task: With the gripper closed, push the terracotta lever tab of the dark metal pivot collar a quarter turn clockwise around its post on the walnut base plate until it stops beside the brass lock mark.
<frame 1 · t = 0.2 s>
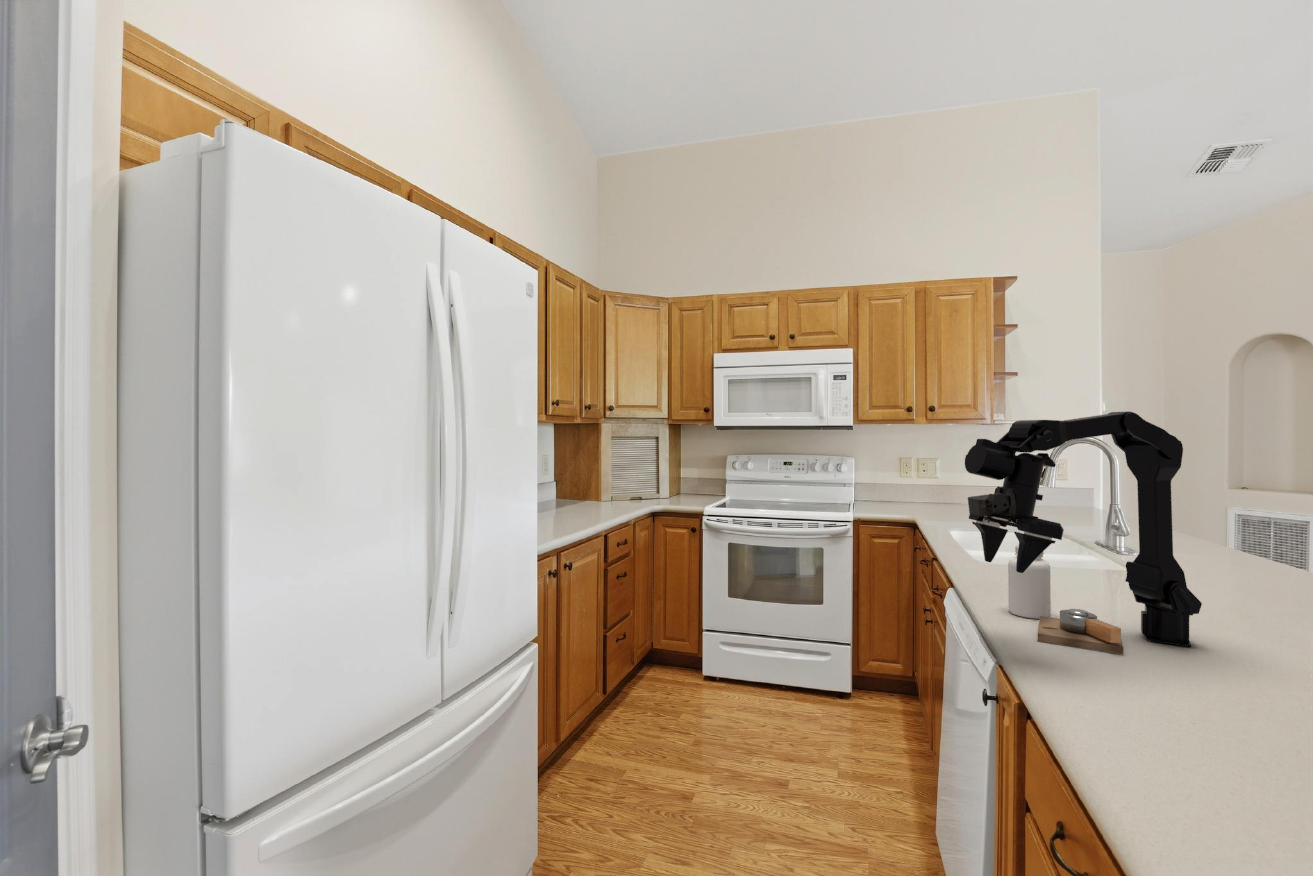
hand: (1003, 566, 110), 15 cm above the countertop, tool pointing down, fingers open, 9 cm apart
base plate: (1078, 637, 116), on the countertop
pill bottle: (1029, 615, 131), on the countertop
coupling: (1089, 624, 113), point 4 cm above the countertop, hinge at 130.0°
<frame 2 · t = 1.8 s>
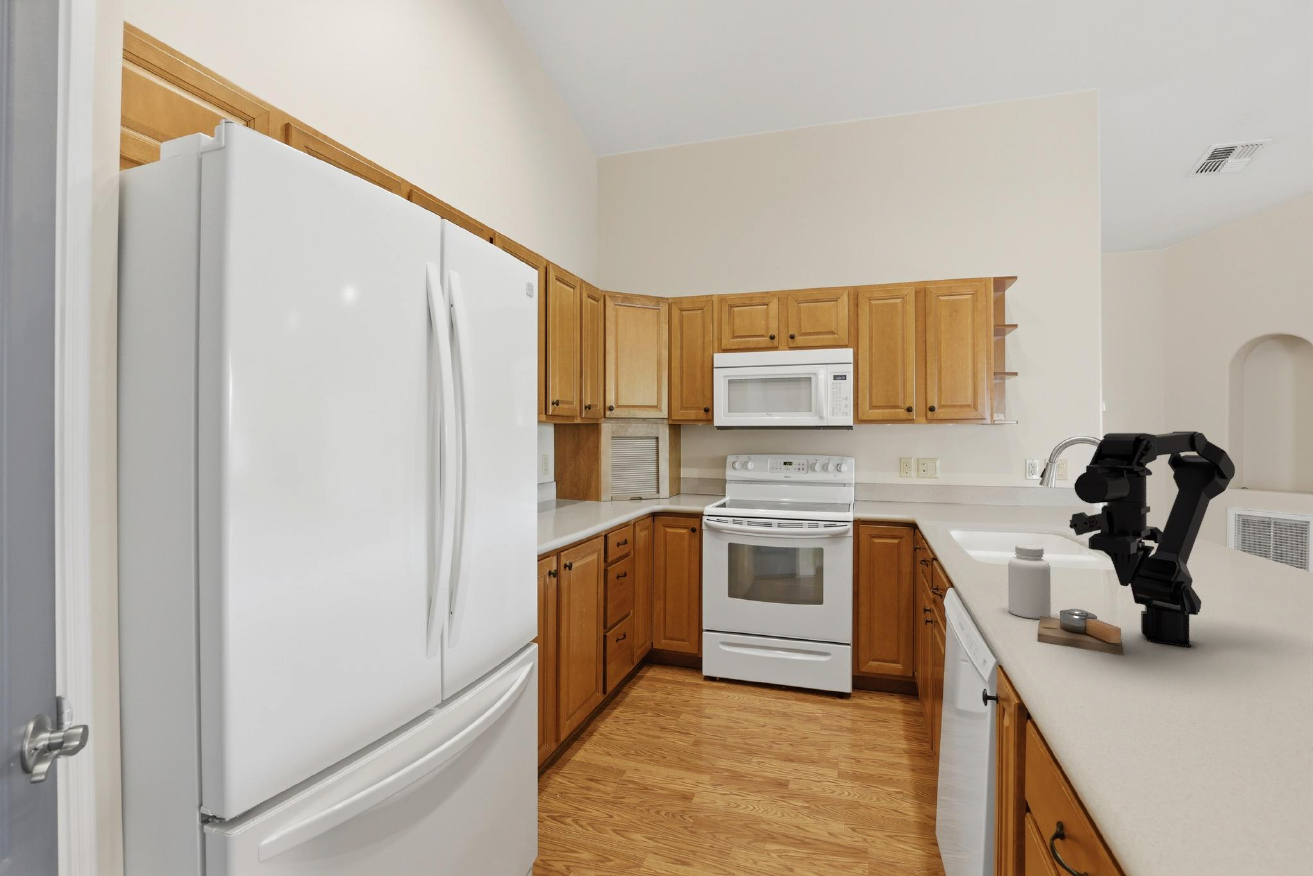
hand: (1126, 584, 109), 12 cm above the countertop, tool pointing down, fingers closed
nothing on the countertop moved.
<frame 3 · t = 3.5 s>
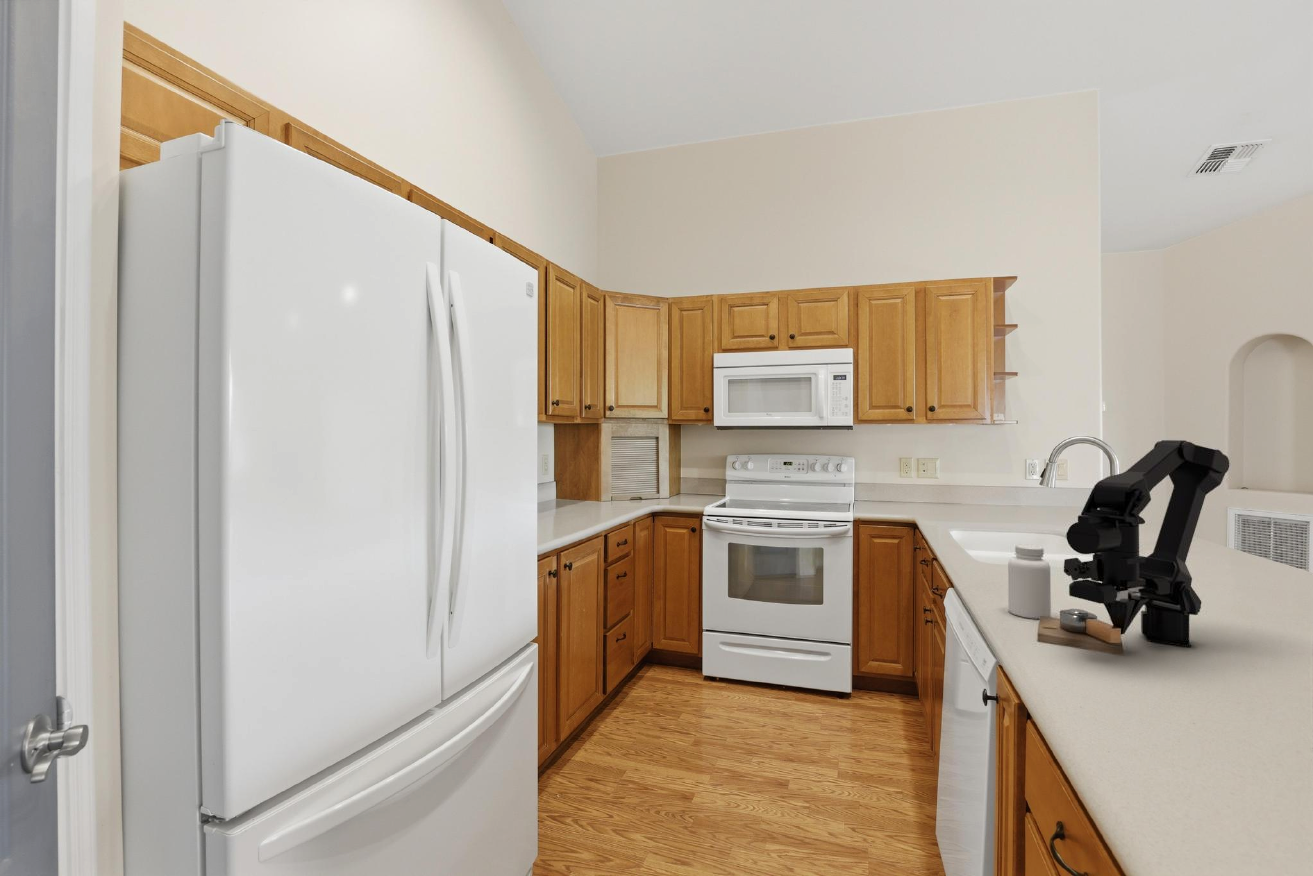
hand: (1119, 633, 109), 3 cm above the countertop, tool pointing down, fingers closed
coupling: (1089, 624, 113), point 3 cm above the countertop, hinge at 129.8°, touching gripper
everything else where it was.
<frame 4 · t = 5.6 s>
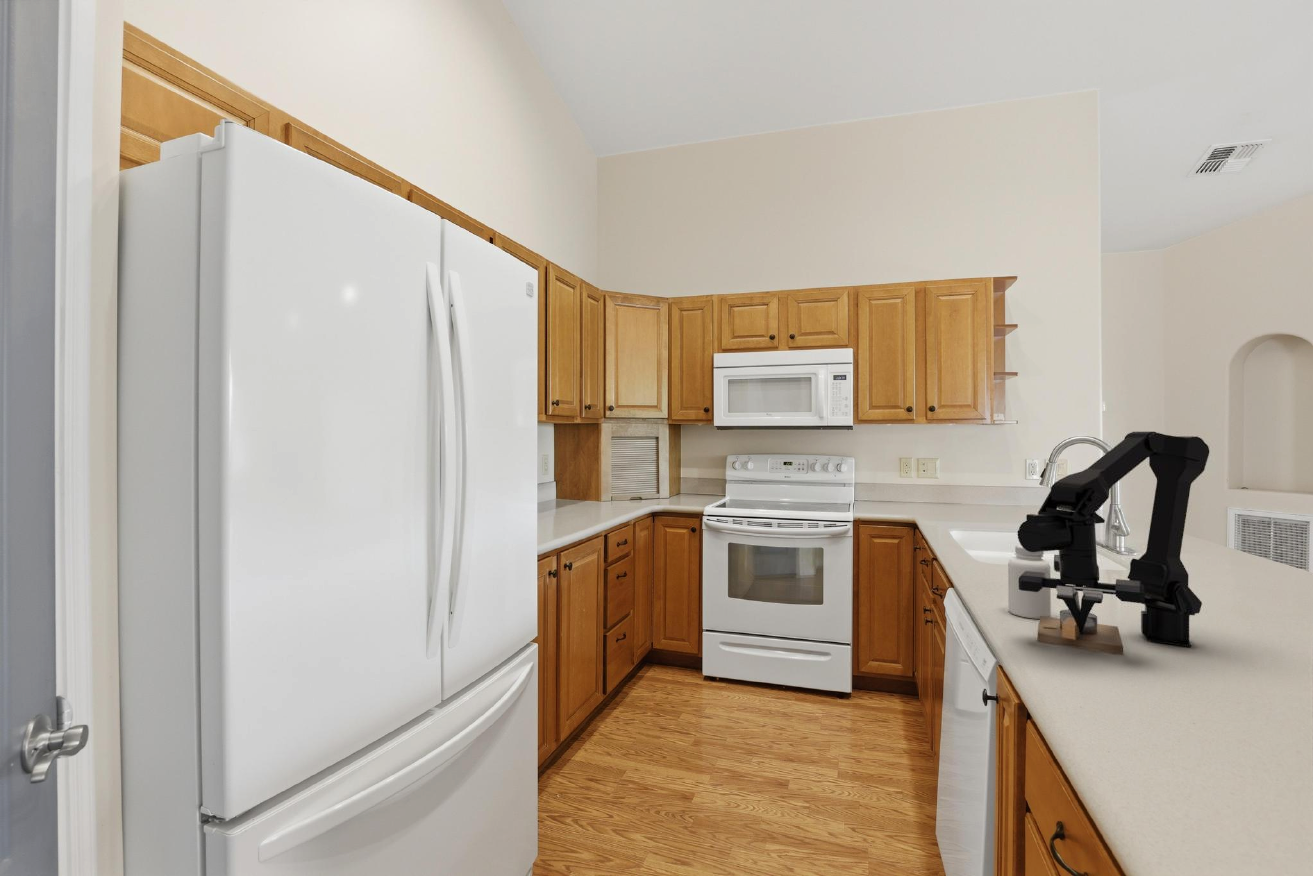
hand: (1081, 632, 109), 3 cm above the countertop, tool pointing down, fingers closed
coupling: (1075, 623, 114), point 4 cm above the countertop, hinge at 79.1°, touching gripper
everything else where it was.
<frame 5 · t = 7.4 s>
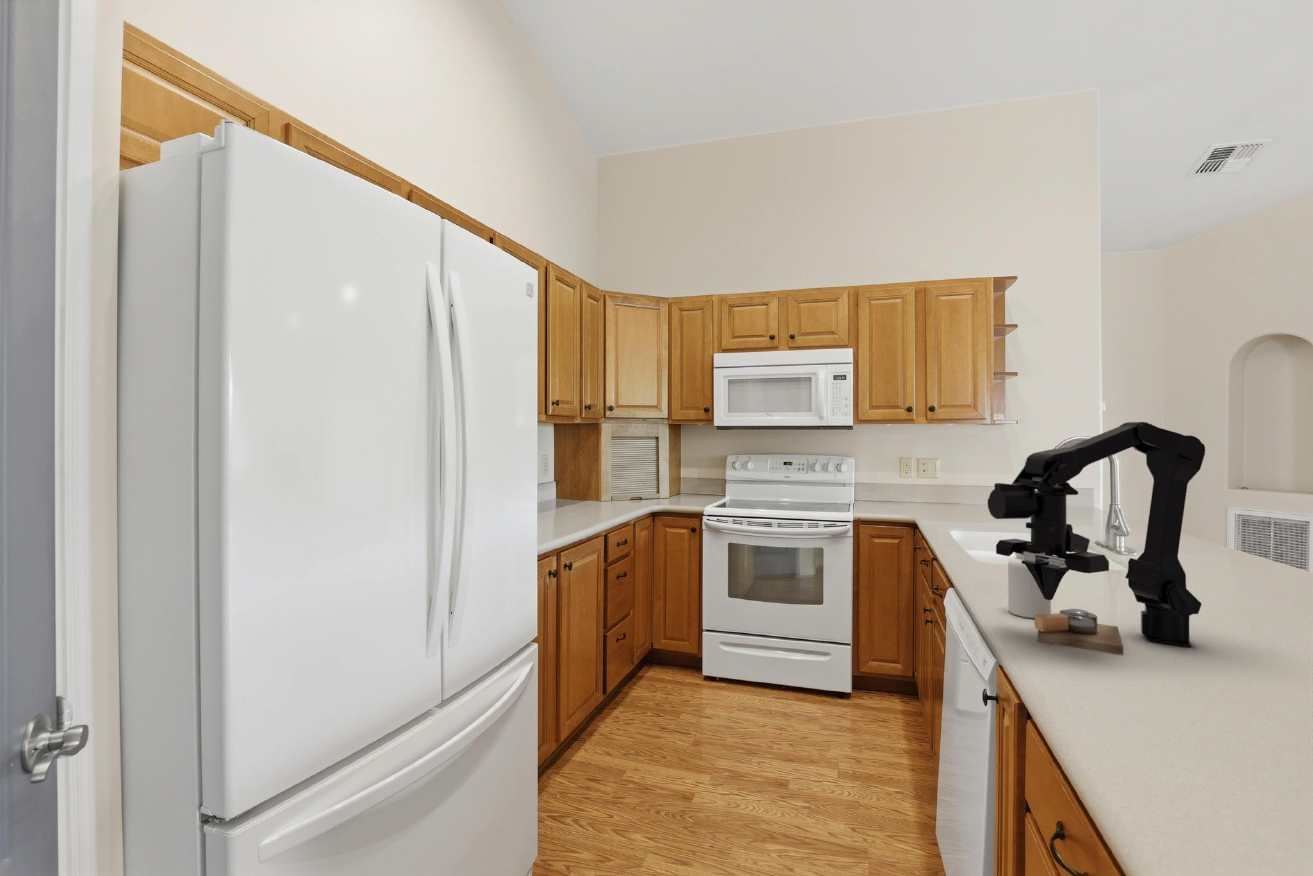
hand: (1048, 599, 113), 8 cm above the countertop, tool pointing down, fingers closed
coupling: (1065, 620, 115), point 4 cm above the countertop, hinge at 41.8°
everything else where it was.
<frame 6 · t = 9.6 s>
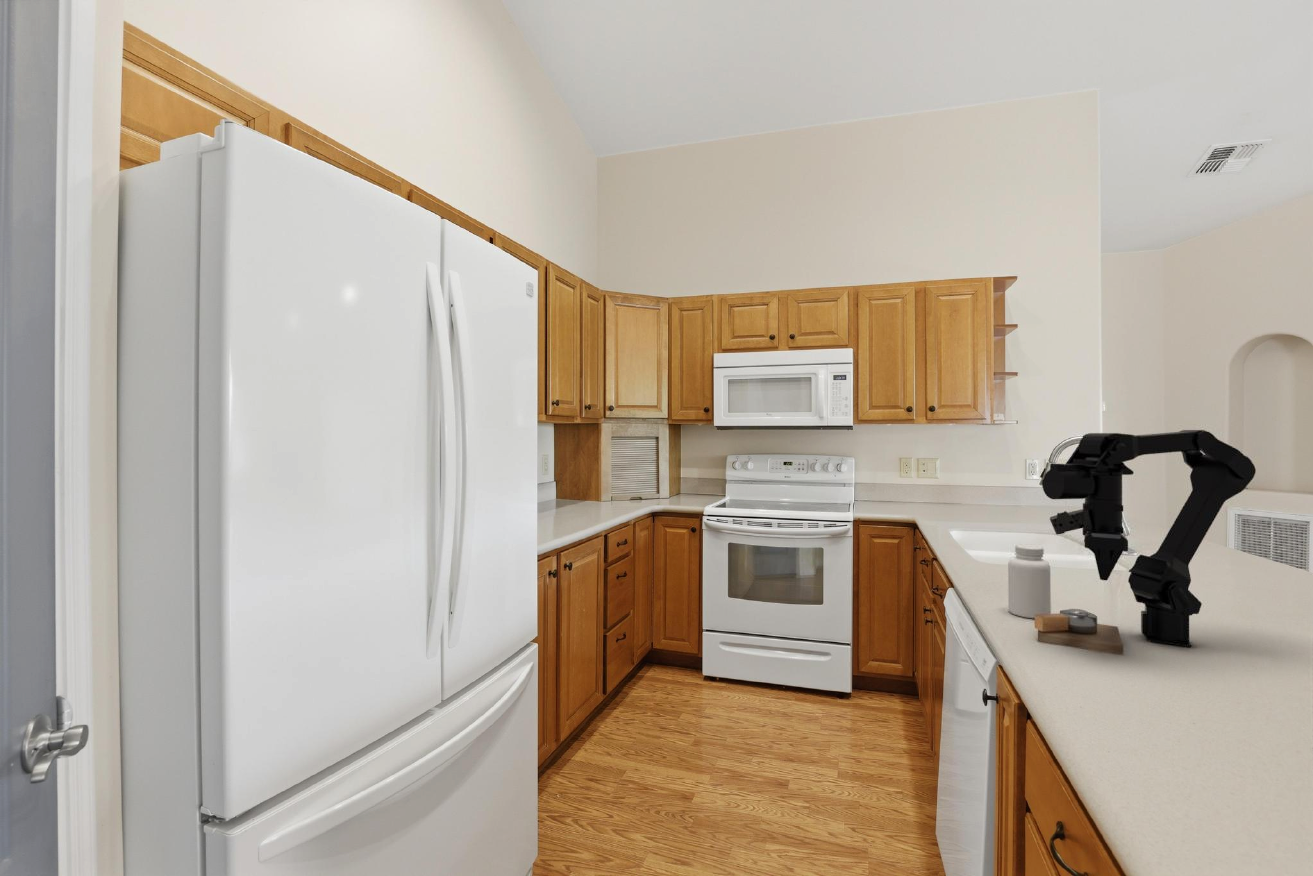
hand: (1103, 579, 113), 12 cm above the countertop, tool pointing down, fingers closed
coupling: (1065, 620, 115), point 4 cm above the countertop, hinge at 41.4°
everything else where it was.
at the end: coupling at +41° (first picture: +130°); pill bottle moved 0.2 cm from its start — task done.
